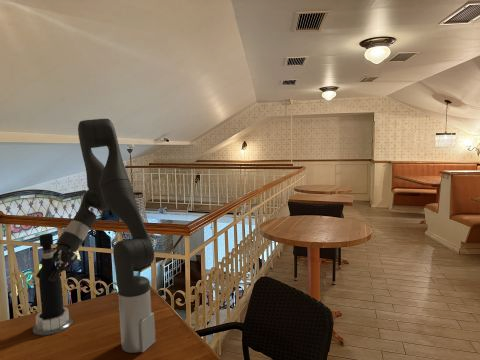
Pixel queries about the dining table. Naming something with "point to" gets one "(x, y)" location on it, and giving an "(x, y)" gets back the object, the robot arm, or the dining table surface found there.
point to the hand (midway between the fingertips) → (44, 279)
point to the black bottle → (49, 282)
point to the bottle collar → (52, 323)
